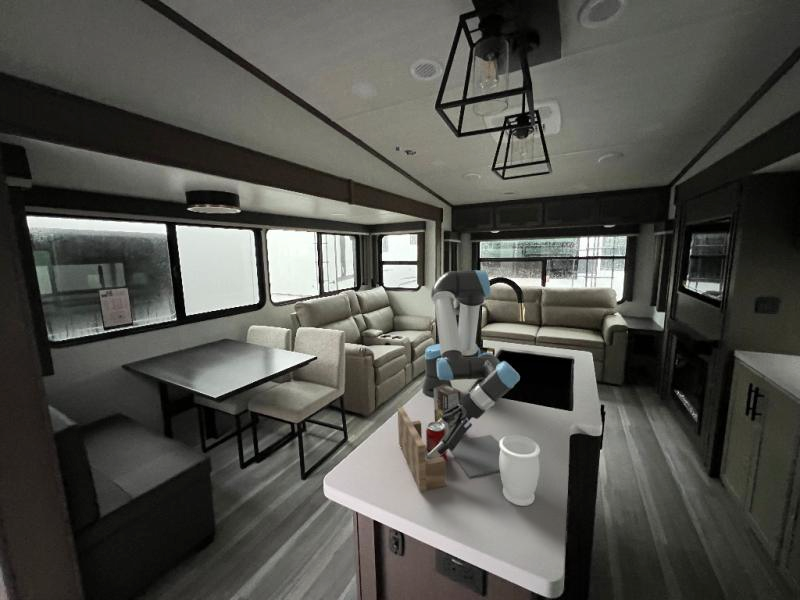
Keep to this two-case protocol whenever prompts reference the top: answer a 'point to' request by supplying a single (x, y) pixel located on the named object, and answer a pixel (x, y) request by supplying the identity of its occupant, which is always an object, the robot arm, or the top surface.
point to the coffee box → (445, 402)
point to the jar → (519, 468)
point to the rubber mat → (478, 455)
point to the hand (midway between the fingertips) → (431, 444)
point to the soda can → (435, 437)
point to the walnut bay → (419, 455)
